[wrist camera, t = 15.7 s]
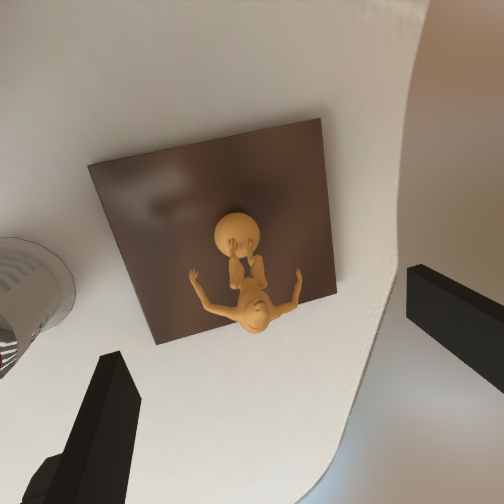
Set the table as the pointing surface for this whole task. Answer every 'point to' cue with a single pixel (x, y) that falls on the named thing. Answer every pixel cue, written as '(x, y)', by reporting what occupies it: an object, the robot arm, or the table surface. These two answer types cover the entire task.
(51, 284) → the french press
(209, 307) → the figurine
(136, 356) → the table surface
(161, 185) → the walnut board
